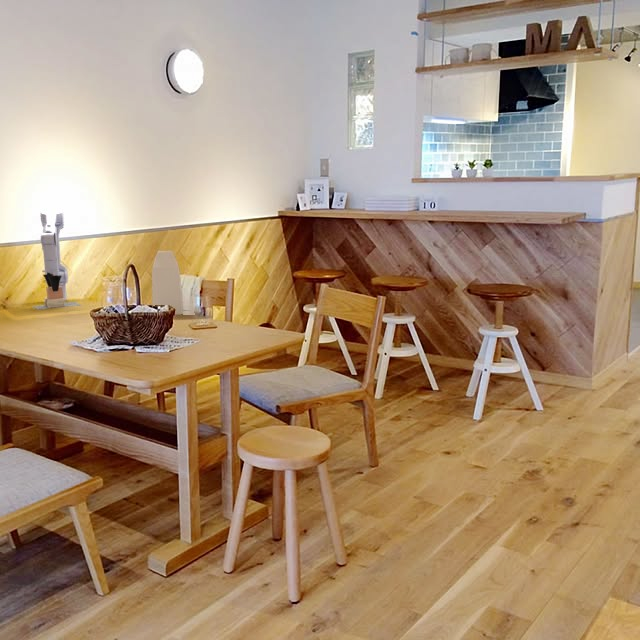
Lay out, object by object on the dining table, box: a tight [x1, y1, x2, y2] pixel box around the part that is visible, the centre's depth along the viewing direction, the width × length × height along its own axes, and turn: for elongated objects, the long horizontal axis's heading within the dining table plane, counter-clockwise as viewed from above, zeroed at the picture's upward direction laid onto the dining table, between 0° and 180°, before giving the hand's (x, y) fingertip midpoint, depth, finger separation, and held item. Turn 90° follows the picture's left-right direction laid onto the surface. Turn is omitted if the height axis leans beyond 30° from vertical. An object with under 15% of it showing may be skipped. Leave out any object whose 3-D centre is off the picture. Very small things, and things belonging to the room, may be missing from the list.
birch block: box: [43, 297, 66, 309], centre depth 328 cm, size 7×7×4 cm
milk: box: [151, 250, 185, 315], centre depth 307 cm, size 12×12×26 cm
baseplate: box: [31, 301, 82, 311], centre depth 330 cm, size 13×19×2 cm
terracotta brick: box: [46, 286, 63, 299], centre depth 328 cm, size 4×6×5 cm
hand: (53, 290), depth 328 cm, fingers open, 7 cm apart
